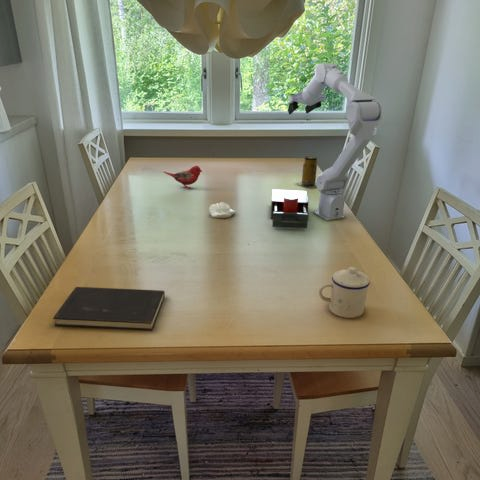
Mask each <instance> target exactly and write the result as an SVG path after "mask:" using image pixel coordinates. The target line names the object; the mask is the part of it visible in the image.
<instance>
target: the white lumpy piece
mask: <svg viewBox="0 0 480 480" xmlns="http://www.w3.org/2000/svg"><path fill="white" fill-rule="evenodd" d="M208 212H209V214H210V215H211V217H212V218H214V219H215V218H217V219H225V218H230V217H232V216H233V215H234V214H235V212H236V211H235V210H234V209H232V208H231V206H230V205H229V204H228V203H226V202H224V201H221V202H219V203H218V202H216V203H212V204H211V205H209V208H208Z"/></svg>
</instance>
